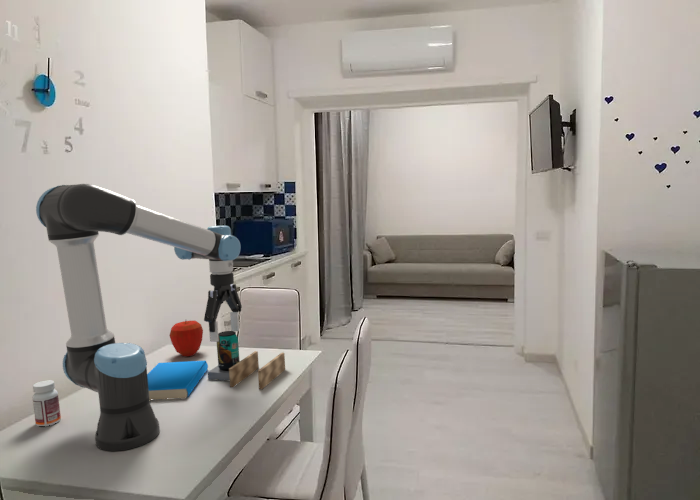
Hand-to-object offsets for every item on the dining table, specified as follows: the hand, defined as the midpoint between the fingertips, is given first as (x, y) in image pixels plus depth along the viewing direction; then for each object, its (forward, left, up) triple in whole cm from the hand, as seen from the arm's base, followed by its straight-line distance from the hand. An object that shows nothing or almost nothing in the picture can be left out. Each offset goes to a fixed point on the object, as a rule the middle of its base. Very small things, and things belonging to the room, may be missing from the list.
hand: (225, 336), depth 177 cm
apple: (+18, +27, -14) cm, 35 cm away
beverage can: (0, -1, -11) cm, 11 cm away
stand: (0, 0, -14) cm, 14 cm away
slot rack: (-1, -12, -14) cm, 18 cm away
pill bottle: (-43, +32, -14) cm, 55 cm away
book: (-11, +14, -14) cm, 23 cm away
